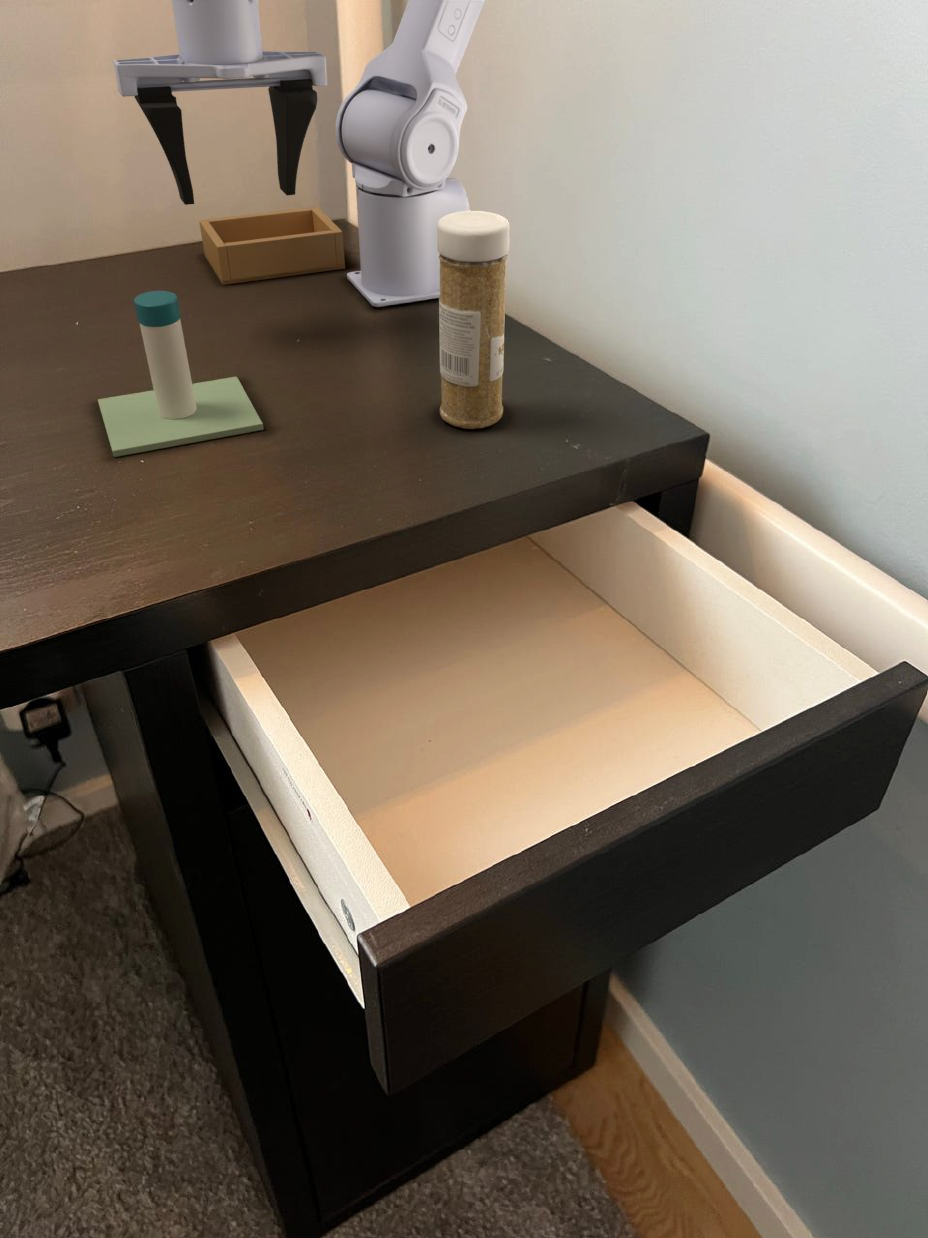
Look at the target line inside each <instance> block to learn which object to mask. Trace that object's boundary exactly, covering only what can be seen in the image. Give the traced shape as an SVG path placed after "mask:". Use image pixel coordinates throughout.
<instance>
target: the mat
mask: <svg viewBox="0 0 928 1238" xmlns="http://www.w3.org/2000/svg"><path fill="white" fill-rule="evenodd" d="M240 381H241V380H239V378H238V376H230V377H225V378H218V379H213V380H207V381H201V382H200V381H199V382H196V383H195V382H194V383H192V386H193V391H194V397H195V402H196V407H197V409H196V412H195V413H194V414H192V415H191V416H188V417H185V418H181V419H167V418H163V417H161V416H160V415H159V413H158V408H157V403H156V399H155V394H154V389H153V390H152V389H151V390H145V391H141V392H134V393H127V394H122V395H117V396H110V397H103V398H99V399H97V402H98V407H99V410H100V414H101V417H102V420H103V425H104V428H105V431H106V435H107V438H108V441H109V445H110V448H111V452H112V456H113V458H117V457H123V456H128V455H133V454H134V455H135V454H139V453H145V452H150V451H154V450H155V451H156V450H160V449H166V448H172V447H177V446H183V445H187V444H195V443H199V442H205V441H209V440H215V439H221V438H225V437H231V436H237V435H243V434H248V433H253V432H258V431H259V432H260V431H263V430H264V423H263V422H262V420H261V418H260V415H259V414H258V412H257V411H256V408H255V407H254V405H253V404H252V401H251V400H250V398H249V396H248V394H247V392H246V391H245V388H244V386H243V385H242V383H241V382H240Z"/></svg>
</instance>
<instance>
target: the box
mask: <svg viewBox="0 0 928 1238" xmlns="http://www.w3.org/2000/svg"><path fill="white" fill-rule="evenodd" d="M198 222H199V228H200V229H199V230H200V235H201V241H202V247H203V248H202V249H203V253H204V258H205V259H206V261H207V262H208V264H209V265H210V267H211V269H212V270H213V272H214V273H215V275H216V277H218V280H219V281H220V283H221V284H222V285H223V286H226V285H232V284H241V283H248V282H254V281H261V280H269V279H277V278H284V277H292V276H300V275H306V274H315V273H320V272H321V273H322V272H329V271H335V270H343V269H346V261H345V247H344V233H343V231H342V230H341V228H340V227H339V226H338V225H336V223H334V222H333V221H332V220H331V219H330V218H329V217H328V215H327V214H325V213H324V212H323V211H322V210H321V208H320V207H318V206H313V207H302V208H295V209H285V210H284V209H283V210H277V211H268V212H260V213H250V214H241V215H232V216H223V217H216V218H207V219H199V221H198Z"/></svg>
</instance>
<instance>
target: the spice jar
mask: <svg viewBox="0 0 928 1238" xmlns="http://www.w3.org/2000/svg"><path fill="white" fill-rule="evenodd" d="M510 242H511V225H510V222H509V220H508V219H507V218H506V217H505V216H503V215H500V214H498V213H495V212H490V211H483V210H470V211H461V212H455V213H451V214H447V215H445V216H443V217H442V218H440V220H439V221H438V223H437V251H438V252H439V253H440V255H439V259H440V297H439V298H438V315H439V316H438V319H439V320H438V323H439V324H438V325H439V326H438V327H439V333H438V334H439V335H438V337H439V340H438V341H439V373H440V383H441V384H440V389H441V391H440V396H441V399H440V400H441V404H440V407H439V415H440V417H441V419H442V420H443V421H444V423H448V425H451V426H452V427H456V428H461V429H465V430H466V429H467V430H476V429H484V428H487V427H491V426H492V425H495V424H496V423H498V422H499V421H500V420H501V419H502V417H503V414H504V405H503V397H502V396H503V375H504V374H503V373H504V368H505V367H504V362H505V361H504V360H505V359H504V357H505V319H506V318H505V317H506V309H505V308H506V307H505V294H506V293H505V291H506V290H505V287H506V262H507V257H508V253H509V252H510V245H511V244H510Z"/></svg>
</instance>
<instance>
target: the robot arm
mask: <svg viewBox="0 0 928 1238" xmlns="http://www.w3.org/2000/svg"><path fill="white" fill-rule="evenodd" d="M485 1H486V0H408V1H407V4H406V7H405V9H404V11H403V15H402V16H401V20H400V23H399V25H398V27H397V31H396V33H395V36H394V38H393V42H392V43H391V44H390V45H388V47H387V48H385V49H384V50H382V51H381V52H380V53H378V54H377V55H376V56H375V57H373V58H372V59H371V60H370V61H369V62H367V63H366V65H365V67H364V69H363V71H362V75H361V77H360V79H359V81H358V83H357V85H356V86H355V87H354V88H353V89H352V91H350V93H348V94H347V96H346V97H344V99H343V100H342V102H341V104H340V106H339V109H338V111H337V115H336V119H335V138H336V143H337V146H338V149H339V151H340V153H341V154H342V156H343V157H344V159H346V161H348V163H350V164H351V173H352V175H351V176H352V178H353V179H355V180H354V183H355V195H356V196H355V197H356V211H357V212H356V213H357V214H356V215H357V229H358V232H357V233H358V245H359V247H358V248H359V249H358V250H359V262H360V263H359V264H360V265H359V266H360V270H357V271H350V272H347V274H346V278H347V280H348V281H349V282H350V283H351V284H352V286H354V288H355V289H357V291H358V292H359V293H360V294H361V295H362V296H363V297H364V298H365V300H366V301H367V302H368V303H369V304H370V305H371V306H372V307H375V308H382V307H388V306H394V305H402V304H408V303H415V302H420V301H422V302H423V301H428V300H435V299H439V297H440V259H439V255H440V253H439V252H438V251H437V223H438V221H439V220H440V218H442V217H443V216H445V215H447V214H451V213H455V212H461V211H471V208H470V202H469V197H468V194H467V191H466V188H465V187H464V185H463V184H462V182H461V181H460V180H459V179H457V178H453V177H449V176H450V175H451V173H452V171H453V170H454V167H455V166H456V163H457V159H458V155H459V151H460V149H459V148H460V135H461V134H460V133H461V130H462V125H463V121H464V119H465V116H466V113H467V111H468V104H467V100H466V97H465V95H464V93H463V91H462V89H461V87H460V84H459V82H458V79H457V76H456V75H457V73H458V69H459V67H460V65H461V62H462V61H463V57H464V55H465V52H466V50H467V47H468V44H469V42H470V40H471V37H472V35H473V32H474V29H475V27H476V25H477V21H478V19H479V16H480V13H481V12H482V9H483V7H484V4H485ZM171 6H172V13H173V20H174V26H175V33H176V41H177V48H178V53H176V54H167V55H158V56H148V57H147V56H146V57H140V58H139V57H138V58H125V59H113V60H112V63H113V68H114V74H115V79H116V84H117V90H118V93H119V94H120V95H121V96H122V97H124V98H125V97H133V98H134V99H135V101H136V103H137V104H138V106H139V107H140V110H141V111H142V113H143V114H144V116H145V118H146V120H147V122H148V123H149V125H150V126H151V128H152V130H153V132H154V134H155V136H156V138H157V140H158V142H159V144H160V146H161V148H162V151H163V152H164V154H165V157H166V158H167V162H168V164H169V167H170V169H171V172H172V174H173V178H174V180H175V183H176V187H177V191H178V194H179V198H180V199H181V201H182V203H183V204H184V205H185V206H188V205H195V198H194V196H195V195H194V189H193V183H192V180H191V179H192V178H191V174H190V170H189V165H188V160H187V155H186V147H185V138H184V126H183V113H182V109H181V108H180V107H179V105H178V103H177V97H176V96H175V95H174V94H173V93H175V92H176V93H177V92H193V91H211V90H231V89H249V88H267V87H268V88H267V90H268V96H269V101H270V102H269V103H270V106H271V107H270V108H271V113H272V119H273V125H274V127H273V128H274V134H275V141H276V143H275V144H276V161H277V162H276V163H277V177H278V178H277V179H278V184H279V185H278V186H279V189H280V191H282V193H283V194H285V195H286V196H295V195H296V190H297V189H296V188H297V187H296V186H297V177H298V170H299V164H300V158H301V155H302V149H303V145H304V142H305V138H306V136H307V132H308V128H309V127H310V123H311V121H312V119H313V116H314V114H315V112H316V110H317V105H318V92H317V91H316V90H315V89H314V88H313V87H322V86H323V87H324V86H328V74H327V73H328V72H327V71H328V70H327V57H326V55H325V54H323V53H322V52H320V51H316V50H315V51H314V50H313V51H271V50H269V51H268V50H263V42H262V32H261V31H262V29H261V20H260V9H259V0H171ZM201 79H207V80H201Z"/></svg>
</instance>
